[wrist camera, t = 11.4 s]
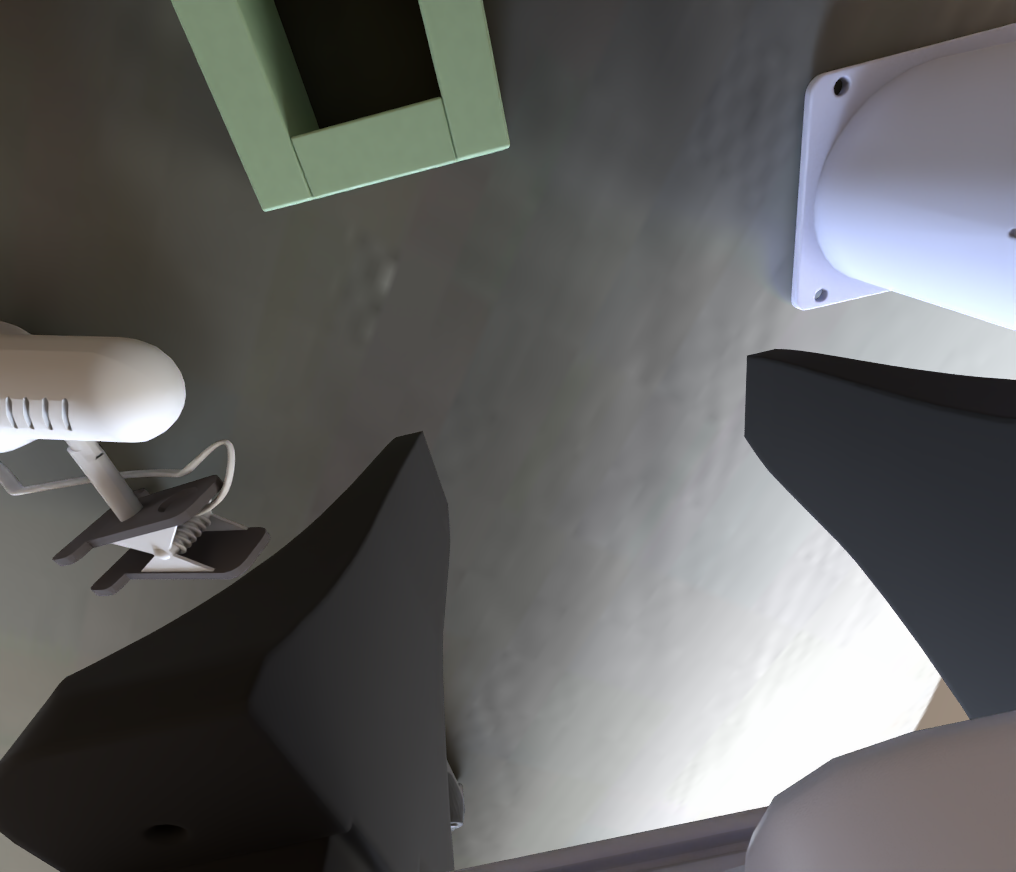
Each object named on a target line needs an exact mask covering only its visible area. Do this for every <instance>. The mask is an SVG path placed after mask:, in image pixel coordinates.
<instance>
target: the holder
mask: <svg viewBox="0 0 1016 872" xmlns="http://www.w3.org/2000/svg"><path fill="white" fill-rule="evenodd" d="M171 2H172V4H173V6H174V9H175V11H176V13H177V16H178V18H179V20H180V22H181V25H182V27H183V29H184V32H185V34H186V36H187V38H188V41H189V43H190V45H191V48H192V50H193V52H194V54H195V57H196V59H197V61H198V64H199V66H200V68H201V70H202V73H203V75H204V77H205V80H206V82H207V84H208V86H209V89H210V91H211V93H212V96H213V98H214V100H215V102H216V105H217V107H218V109H219V111H220V114H221V116H222V118H223V121H224V123H225V125H226V127H227V130H228V132H229V134H230V137H231V139H232V141H233V143H234V146H235V148H236V150H237V153H238V155H239V157H240V159H241V162H242V164H243V166H244V169H245V171H246V173H247V175H248V178H249V180H250V182H251V185H252V187H253V189H254V191H255V194H256V196H257V198H258V201H259V203H260V205H261V207H262V209H263V211H270V210H274V209H278V208H282V207H286V206H290V205H294V204H298V203H302V202H306V201H310V200H314V199H318V198H322V197H325V196H329V195H333V194H337V193H340V192H344V191H348V190H352V189H356V188H360V187H363V186H367V185H371V184H375V183H379V182H383V181H386V180H390V179H394V178H398V177H402V176H405V175H409V174H413V173H417V172H421V171H425V170H428V169H432V168H436V167H440V166H444V165H447V164H451V163H455V162H459V161H461V160H466V159H470V158H474V157H478V156H482V155H486V154H489V153H493V152H497V151H501V150H504V149H507V148H508V147H510V141H509V136H508V130H507V125H506V120H505V115H504V110H503V104H502V99H501V94H500V89H499V84H498V78H497V73H496V68H495V63H494V57H493V52H492V47H491V42H490V37H489V31H488V26H487V21H486V16H485V11H484V5H483V0H418V2H419V6H420V10H421V14H422V18H423V23H424V27H425V31H426V35H427V39H428V43H429V47H430V51H431V56H432V60H433V64H434V68H435V72H436V76H437V80H438V84H439V88H440V93H441V97H442V98H441V97H436V98H433V99H429V100H425V101H422V102H418V103H414V104H411V105H407V106H403V107H400V108H396V109H392V110H389V111H385V112H381V113H378V114H374V115H370V116H367V117H363V118H359V119H356V120H352V121H348V122H345V123H341V124H337V125H334V126H330V127H326V128H323V129H319V126H318V123H317V121H316V118H315V115H314V112H313V109H312V107H311V104H310V101H309V98H308V95H307V92H306V90H305V87H304V84H303V81H302V78H301V76H300V73H299V70H298V67H297V64H296V62H295V59H294V56H293V53H292V50H291V48H290V45H289V42H288V39H287V36H286V34H285V31H284V28H283V25H282V22H281V20H280V17H279V14H278V11H277V8H276V6H275V3H274V0H171Z"/></svg>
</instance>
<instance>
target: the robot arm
mask: <svg viewBox="0 0 1016 872" xmlns="http://www.w3.org/2000/svg"><path fill="white" fill-rule="evenodd" d="M838 79H840V80H841V81H842V85H843V86H842V89H841V91H840V93H839V94H838V95H836V94H835V93H834V86H835V83H836V82H837V80H838ZM820 289H822V293H821V295H820V296H819V297H818V298H817V299H815V294H816V292H817V291H818V290H820ZM887 291H894V292H897V293H901V294H904V295H907V296H910V297H913V298H916V299H919V300H922V301H925V302H928V303H931V304H935V305H938V306H941V307H944V308H947V309H950V310H953V311H956V312H959V313H962V314H965V315H969V316H972V317H975V318H978V319H981V320H984V321H987V322H990V323H993V324H996V325H999V326H1003V327H1006V328H1009V329H1012V330H1015V331H1016V23H1013V24H1010V25H1006V26H1002V27H998V28H994V29H990V30H987V31H983V32H979V33H975V34H971V35H967V36H964V37H960V38H956V39H952V40H948V41H945V42H941V43H937V44H933V45H929V46H925V47H922V48H918V49H914V50H910V51H906V52H902V53H899V54H895V55H891V56H887V57H883V58H879V59H876V60H872V61H868V62H864V63H860V64H856V65H853V66H849V67H845V68H841V69H837V70H833V71H830V72H826V73H822V74H820V75H818V76H816V77H815V78H814V79H813V80H812V81H811V82H810V83H809V85H808V87H807V89H806V93H805V103H804V118H803V133H802V148H801V162H800V177H799V192H798V206H797V221H796V236H795V251H794V265H793V280H792V295H791V301H792V304H793V305H794V307H796V308H799V309H801V310H809V309H813V308H817V307H822V306H826V305H830V304H835V303H839V302H844V301H848V300H852V299H857V298H861V297H866V296H870V295H874V294H879V293H883V292H887ZM744 437H745V438H746V440H747V441H748V443H749V444H750V446H751V447H752V449H753V450H754V452H755V453H756V455H757V456H758V457H759V459H760V460H761V461H762V463H763V464H764V465H765V467H766V468H767V469H768V471H769V472H770V473H771V474H772V475H773V476H774V477H775V478H776V479H777V480H778V481H779V482H780V483H781V484H782V485H783V486H784V488H785V489H786V490H787V491H788V492H789V493H790V494H791V495H792V496H793V497H794V498H795V499H796V500H797V501H798V502H799V503H800V504H801V505H802V506H803V507H804V508H805V509H806V510H807V511H808V512H809V513H810V514H811V515H812V516H813V517H814V518H815V519H816V520H817V521H818V522H819V523H820V524H821V525H822V526H823V527H824V528H825V529H826V530H827V531H828V532H829V533H830V534H831V535H832V536H833V537H834V538H835V539H836V540H837V541H838V542H839V543H840V545H841V546H842V547H843V548H844V549H845V550H846V551H847V552H848V553H849V555H850V556H851V557H852V558H853V559H854V560H855V561H856V563H857V564H858V565H859V566H860V568H861V569H862V570H863V571H864V573H865V574H866V575H867V576H868V578H869V579H870V580H871V581H872V583H873V584H874V585H875V587H876V588H877V589H878V590H879V592H880V593H881V594H882V595H883V597H884V598H885V599H886V600H887V602H888V603H889V604H890V606H891V607H892V609H893V610H894V611H895V613H896V614H897V615H898V617H899V618H900V619H901V621H902V622H903V623H904V625H905V626H906V627H907V629H908V630H909V632H910V633H911V634H912V636H913V637H914V638H915V640H916V641H917V642H918V644H919V645H920V646H921V648H922V649H923V651H924V652H925V654H926V655H927V657H928V658H929V659H930V661H931V662H932V664H933V665H934V667H935V668H936V670H937V671H938V673H939V674H940V675H941V677H942V678H943V680H944V681H945V683H946V684H947V686H948V687H949V689H950V690H951V691H952V693H953V694H954V696H955V697H956V699H957V700H958V702H959V703H960V705H961V706H962V708H963V709H964V711H965V712H966V714H967V716H968V717H969V719H970V720H966V721H962V722H957V723H952V724H947V725H942V726H938V727H934V728H928V729H923V730H919V731H914V732H910V733H907V734H904V735H901V736H899V737H896V738H893V739H890V740H887V741H884V742H881V743H878V744H875V745H872V746H869V747H866V748H863V749H860V750H857V751H854V752H851V753H848V754H845V755H842V756H839V757H836V758H833V759H832V760H830V761H829V762H827V763H825V764H824V765H822V766H821V767H819V768H818V769H816V770H815V771H813V772H812V773H810V774H809V775H807V776H806V777H804V778H803V779H801V780H800V781H798V782H797V783H795V784H793V785H792V786H790V787H789V788H787V789H786V790H784V791H783V792H781V793H780V794H778V795H777V796H775V797H774V799H773V800H772V802H771V804H770V805H769V806H767V807H762V808H757V809H752V810H747V811H743V812H738V813H733V814H728V815H723V816H718V817H713V818H708V819H704V820H699V821H694V822H689V823H684V824H679V825H674V826H670V827H665V828H660V829H655V830H650V831H645V832H640V833H635V834H631V835H626V836H621V837H616V838H611V839H606V840H601V841H596V842H592V843H587V844H582V845H577V846H572V847H567V848H562V849H558V850H553V851H548V852H543V853H538V854H533V855H528V856H523V857H519V858H514V859H509V860H504V861H499V862H494V863H489V864H484V865H480V866H475V867H470V868H465V869H460V870H455V871H454V859H453V846H452V833H451V820H450V806H449V789H448V773H447V756H446V736H445V713H444V685H443V628H444V616H445V604H446V591H447V579H448V567H449V553H450V527H449V513H448V503H447V500H446V497H445V494H444V492H443V489H442V486H441V483H440V480H439V477H438V474H437V471H436V469H435V466H434V463H433V460H432V457H431V454H430V451H429V448H428V446H427V443H426V440H425V437H424V434H423V431H421V432H417V433H413V434H408V435H404V436H400V437H396V438H395V439H393V440H392V441H391V442H390V443H389V444H388V445H387V446H386V447H385V448H384V449H383V450H382V452H381V453H380V454H379V455H378V456H377V457H376V458H375V459H374V460H373V462H372V463H371V464H370V465H369V466H368V467H367V468H366V469H365V470H364V472H363V473H362V474H361V475H360V476H359V477H358V478H357V479H356V480H355V481H354V482H353V484H352V485H351V486H350V487H349V488H348V489H347V490H346V491H345V492H344V493H343V494H342V495H341V496H340V497H339V498H338V499H337V500H336V501H335V502H334V503H333V504H332V505H331V506H330V507H329V508H328V509H327V510H326V511H325V512H324V513H323V514H322V515H321V516H320V517H318V518H317V519H316V520H315V521H314V522H313V523H312V524H311V525H310V526H308V527H307V528H306V529H305V530H304V531H303V532H301V533H300V534H299V535H298V536H297V537H295V538H294V539H293V540H292V541H291V542H289V543H288V544H287V545H286V546H284V547H283V548H282V549H281V550H279V551H278V552H277V553H275V554H274V555H273V556H271V557H270V558H269V559H267V560H266V561H264V562H263V563H262V564H260V565H259V566H257V567H256V568H255V569H253V570H252V571H250V572H249V573H247V574H246V575H245V576H243V577H242V578H240V579H239V580H238V581H236V582H235V583H233V584H232V585H231V586H229V587H228V588H226V589H224V590H223V591H221V592H220V593H218V594H217V595H215V596H213V597H212V598H210V599H209V600H207V601H206V602H204V603H202V604H201V605H199V606H198V607H196V608H194V609H192V610H191V611H189V612H187V613H186V614H184V615H182V616H181V617H179V618H177V619H176V620H174V621H172V622H170V623H169V624H167V625H165V626H163V627H162V628H160V629H158V630H156V631H155V632H153V633H151V634H149V635H147V636H145V637H144V638H142V639H140V640H138V641H136V642H134V643H132V644H130V645H128V646H126V647H124V648H123V649H121V650H119V651H117V652H115V653H113V654H111V655H109V656H107V657H105V658H103V659H101V660H100V661H98V662H96V663H94V664H92V665H90V666H88V667H86V668H84V669H82V670H80V671H78V672H76V673H74V674H72V675H70V676H68V677H66V678H65V679H64V680H63V681H62V682H61V683H60V684H59V685H58V687H57V688H56V689H55V691H54V692H53V693H52V695H51V696H50V697H49V699H48V700H47V701H46V703H45V704H44V705H43V706H42V708H41V709H40V710H39V712H38V713H37V714H36V716H35V717H34V718H33V719H32V721H31V722H30V723H29V725H28V726H27V727H26V728H25V730H24V731H23V732H22V734H21V735H20V736H19V737H18V739H17V740H16V741H15V743H14V744H13V745H12V746H11V748H10V749H9V750H8V752H7V753H6V754H5V756H4V757H3V758H2V759H1V761H0V832H1V833H2V834H4V835H5V836H6V837H7V838H9V839H10V840H11V841H12V842H14V843H15V844H17V845H18V846H20V847H21V848H23V849H25V850H26V851H28V852H29V853H31V854H33V855H34V856H36V857H38V858H39V859H41V860H42V861H44V862H46V863H47V864H49V865H50V866H52V867H54V868H55V869H57V870H59V871H60V872H1016V380H1010V379H997V378H984V377H974V376H964V375H955V374H947V373H940V372H932V371H925V370H917V369H910V368H903V367H897V366H890V365H884V364H878V363H872V362H866V361H860V360H855V359H849V358H843V357H837V356H831V355H825V354H819V353H813V352H805V351H798V350H787V349H774V350H769V351H765V352H761V353H757V354H752V355H748V356H747V374H746V405H745V435H744Z"/></svg>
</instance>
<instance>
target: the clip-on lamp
mask: <svg viewBox="0 0 1016 872" xmlns="http://www.w3.org/2000/svg"><path fill="white" fill-rule="evenodd" d="M185 397H186V391H185V383H184V380H183V377H182V374H181V372H180V370H179V369H178V367H177V366H176V364H175V363H174V362H173V360H172V359H171V358H170V357H169V356H168V355H166V354H165V353H164V352H163V351H161V350H160V349H159V348H158V347H156V346H154V345H151V344H149V343H146V342H144V341H140V340H137V339H132V338H124V337H100V336H59V335H31V334H30V333H28V332H26V331H25V330H23V329H21V328H20V327H18V326H15V325H12V324H9V323H6V322H3V321H0V453H2V452H8V451H12V450H14V449H17V448H19V447H21V446H23V445H26V444H28V443H30V442H32V441H34V440H36V439H53V440H65V441H66V442H67V444H68V445H69V447H68V448H67V451H68V452H69V453H70V455H71V456H72V457H73V459H74V460H75V461H76V463H77V464H78V465H79V467H80V468H81V469H82V471H83V472H84V473H85V475H86V476H84V477H78V478H71V479H65V480H59V481H54V482H48V483H43V484H38V485H33V486H28V487H23V486H22V484H21V483H20V482H19V480H18V479H17V478H16V476H15V475H14V474H13V473H12V472H11V471H10V470H9V469H8V468H7V467H6V466H5V465H4V464H3V463H2V462H1V461H0V483H1V484H2V485H3V487H4V488H5V490H6V491H7V492H8V493H9V494H11V495H22V494H28V493H33V492H39V491H44V490H50V489H56V488H61V487H67V486H73V485H80V484H86V483H92V484H93V485H94V487H95V488H96V489H97V491H98V492H99V493H100V495H101V496H102V497H103V499H104V500H105V501H106V503H107V504H108V505H109V507H110V509H109V510H108V511H107V512H106V513H104V514H103V515H102V516H101V517H100V518H99V519H97V520H96V521H95V522H94V523H93V524H92V525H90V526H89V527H88V528H87V529H86V530H84V531H83V532H82V533H81V534H80V535H79V536H77V537H76V538H75V539H74V540H73V541H72V542H70V543H69V544H68V545H67V546H66V547H65V548H63V549H62V550H61V551H60V552H59V553H58V554H56V555H55V556H54V557H53V559H52V560H53V561H55V562H56V563H57V564H58V565H60V566H64V565H70V564H73V563H75V562H77V561H78V560H80V559H81V558H82V557H83V556H84V555H86V554H87V553H88V552H89V551H90V550H91V549H92V548H95V547H98V546H102V545H106V544H110V543H113V544H116V545H120V546H124V547H128V548H130V549H129V550H128V551H127V552H126V553H125V554H124V555H123V556H122V557H121V558H120V559H119V560H118V561H117V562H116V563H115V564H114V565H113V566H112V567H111V568H110V569H109V570H108V571H107V572H106V573H105V574H104V575H103V576H102V577H101V578H100V579H98V580H97V581H96V582H95V583H94V584H93V586H92V587H91V590H92V591H93V592H94V593H95V594H96V595H98V596H109V595H113V594H115V593H117V592H118V591H119V590H120V589H121V588H122V587H123V586H124V585H125V584H126V583H127V582H128V581H129V580H130V579H232V578H236V577H238V576H240V575H241V574H243V573H245V572H246V571H247V570H248V569H249V568H250V567H251V565H252V564H253V563H254V561H255V560H256V559H257V557H258V556H259V555H260V553H261V552H262V550H263V549H264V548H265V546H266V545H267V544H268V542H269V540H270V535H269V533H268V532H267V531H266V529H265V528H262V527H250V528H248V527H246V526H243V525H241V524H238V523H236V522H233V521H231V520H228V519H225V518H223V517H220V516H218V515H215V514H213V513H212V511H211V509H213V508H214V507H216V506H217V505H218V504H219V503H220V502H221V501H222V500H223V499H224V497H225V496H226V494H227V493H228V491H229V488H230V486H231V483H232V479H233V474H234V467H235V451H234V447H233V444H232V443H231V442H230V441H229V440H220V441H218V442H215V443H214V444H212V445H211V446H209V447H208V448H207V449H205V450H204V451H203V452H202V453H201V454H199V455H198V456H197V457H196V458H195V459H194V460H193V461H192V462H190V463H189V464H188V465H187V466H186V467H185V468H184V469H183V470H178V469H152V470H135V471H124V472H119V471H118V470H117V468H116V467H115V466H114V464H113V463H112V461H111V460H110V458H109V457H108V456H107V454H106V453H105V451H104V450H103V448H102V447H101V445H100V444H99V443H98V441H108V442H132V443H134V442H144V441H148V440H150V439H152V438H154V437H156V436H158V435H160V434H161V433H163V432H165V431H166V430H167V429H169V428H170V426H171V425H172V424H173V423H174V422H175V421H176V420H177V419H178V417H179V415H180V413H181V411H182V409H183V407H184V402H185ZM222 444H225V445H226V447H227V451H228V463H227V471H226V476H225V480H224V484H223V481H222V480H221V479H220V478H219V477H218V476H217V475H212V476H209V477H206V478H202V479H199V480H196V481H193V482H189V483H186V484H183V485H180V486H176V487H173V488H170V489H167V490H163V491H160V492H157V493H154V494H149V493H148V492H147V491H146V490H145V489H139V490H135V491H132V490H131V489H130V487H129V486H128V484H127V483H126V481H125V480H124V479H126V478H140V477H182V476H185V475H187V474H189V473H191V472H192V471H193V470H194V469H195V468H196V467H197V466H198V465H199V464H200V463H201V462H202V461H203V460H204V459H205V458H206V457H207V456H208V455H209V454H210V453H211V452H212V451H213V450H214V449H216V448H217V447H218V446H220V445H222ZM221 488H222V489H221ZM220 489H221V491H220ZM219 491H220V493H219V495H218V496H217V497H216V499H215V500H214V501H213V502H211V500H212V498H213V497H214V496H215V495H216V494H217V493H218V492H219ZM210 502H211V503H210Z"/></svg>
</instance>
